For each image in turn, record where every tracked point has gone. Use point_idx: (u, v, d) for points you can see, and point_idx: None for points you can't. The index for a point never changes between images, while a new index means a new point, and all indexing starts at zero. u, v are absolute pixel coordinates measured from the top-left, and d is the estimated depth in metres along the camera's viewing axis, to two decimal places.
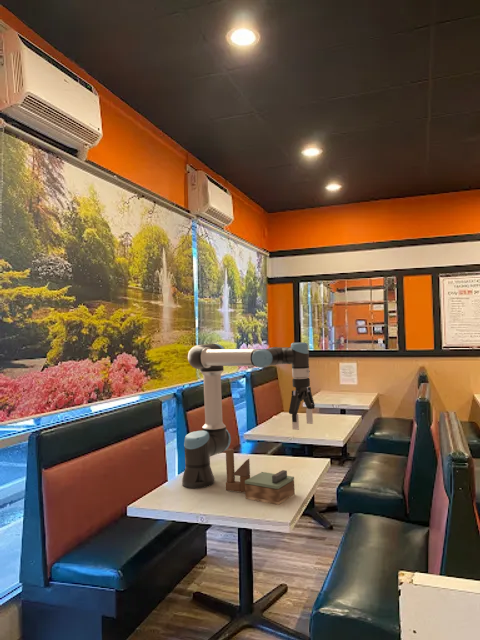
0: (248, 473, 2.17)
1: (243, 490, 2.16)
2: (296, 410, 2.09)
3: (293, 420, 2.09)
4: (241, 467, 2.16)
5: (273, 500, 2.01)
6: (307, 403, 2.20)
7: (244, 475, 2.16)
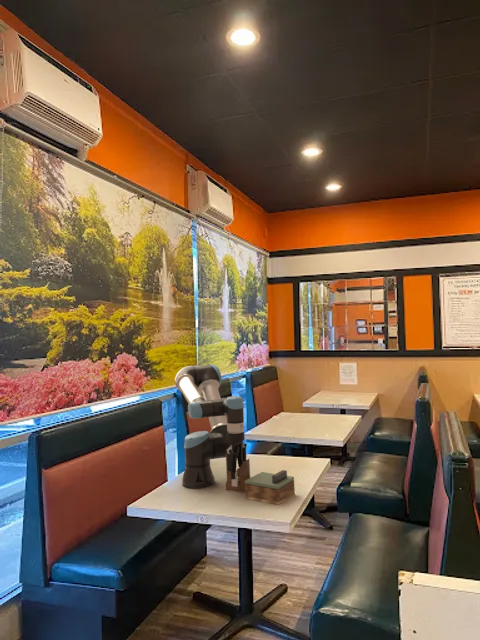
0: (248, 473, 2.17)
1: (243, 490, 2.16)
2: (234, 468, 2.15)
3: (232, 477, 2.16)
4: (241, 467, 2.16)
5: (273, 500, 2.01)
6: (239, 460, 2.21)
7: (244, 475, 2.16)
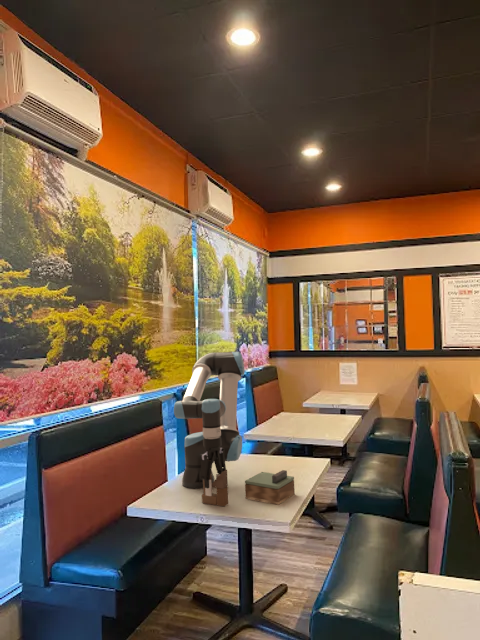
0: (225, 485, 2.02)
1: (220, 503, 2.01)
2: (208, 476, 1.99)
3: (205, 486, 2.00)
4: (218, 479, 2.01)
5: (273, 500, 2.01)
6: (217, 466, 2.07)
7: (221, 487, 2.01)
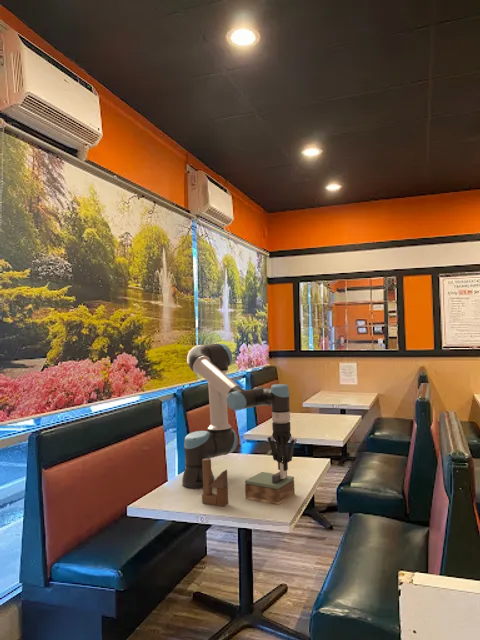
0: (225, 485, 2.02)
1: (220, 503, 2.01)
2: (277, 458, 2.07)
3: None
4: (218, 479, 2.01)
5: (273, 500, 2.01)
6: None
7: (221, 487, 2.01)
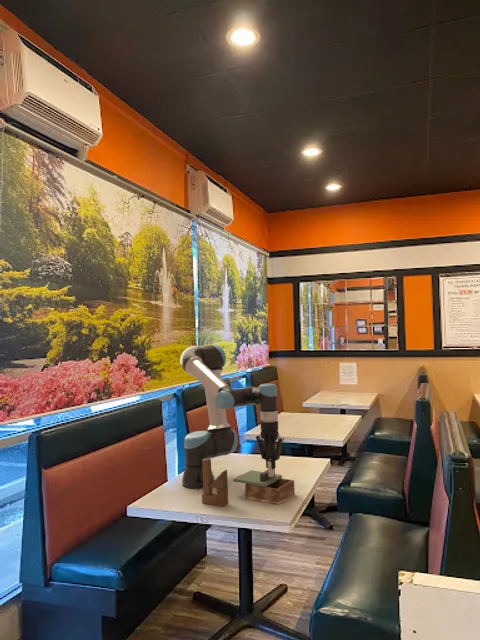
0: (225, 485, 2.02)
1: (220, 503, 2.01)
2: (265, 457, 2.10)
3: None
4: (218, 479, 2.01)
5: (273, 500, 2.01)
6: None
7: (221, 487, 2.01)
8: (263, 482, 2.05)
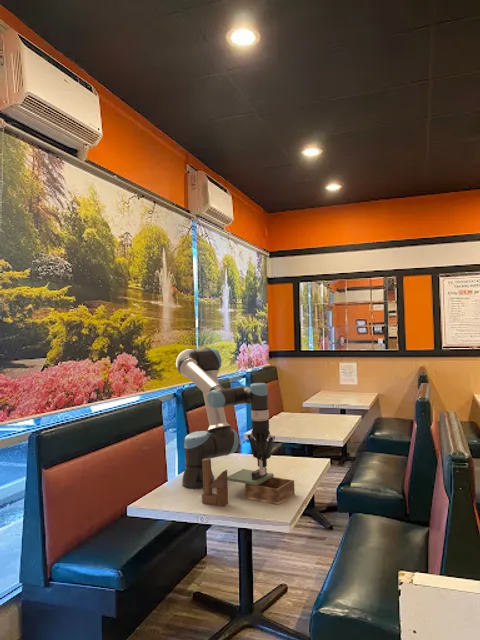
0: (225, 485, 2.02)
1: (220, 503, 2.01)
2: (256, 455, 2.12)
3: None
4: (218, 479, 2.01)
5: (273, 500, 2.01)
6: None
7: (221, 487, 2.01)
8: (254, 481, 2.08)
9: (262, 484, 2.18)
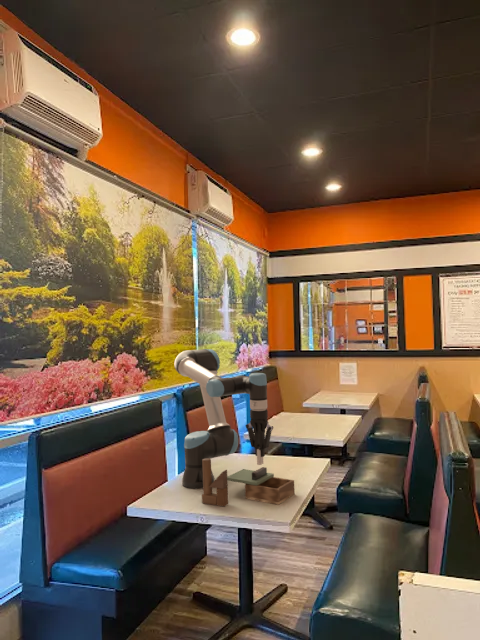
0: (225, 485, 2.02)
1: (220, 503, 2.01)
2: (254, 445, 2.13)
3: None
4: (218, 479, 2.01)
5: (273, 500, 2.01)
6: None
7: (221, 487, 2.01)
8: (255, 481, 2.08)
9: (262, 484, 2.18)
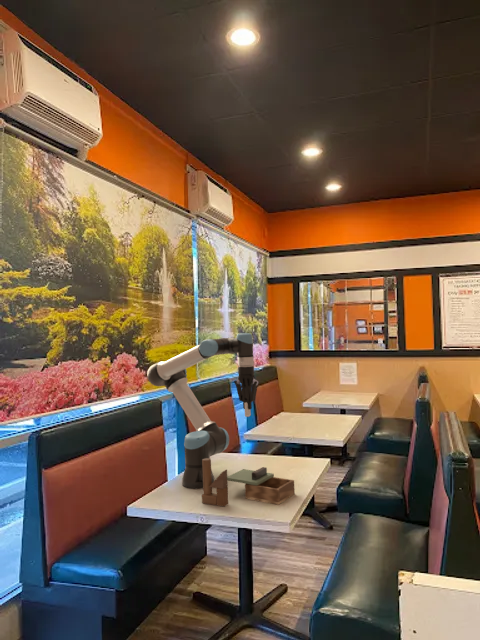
0: (225, 485, 2.02)
1: (220, 503, 2.01)
2: (242, 399, 2.33)
3: None
4: (218, 479, 2.01)
5: (273, 500, 2.01)
6: None
7: (221, 487, 2.01)
8: (255, 481, 2.08)
9: (262, 484, 2.18)
